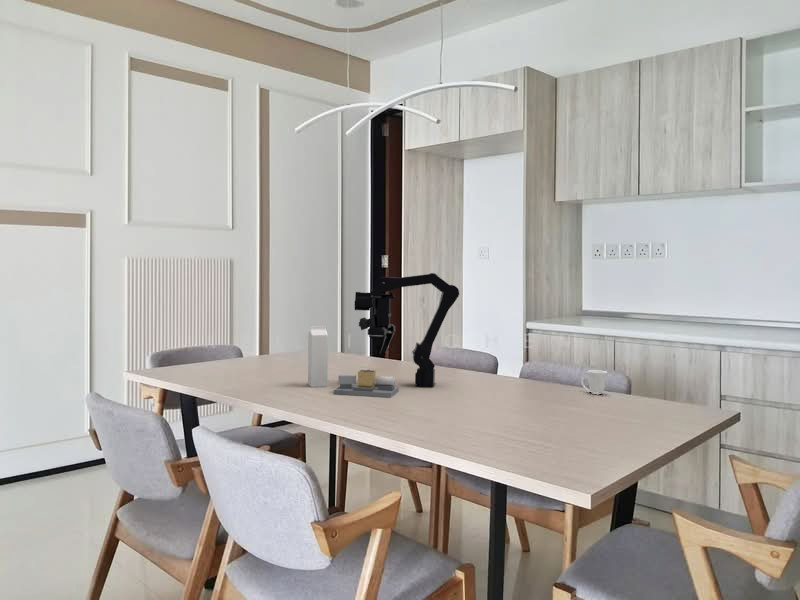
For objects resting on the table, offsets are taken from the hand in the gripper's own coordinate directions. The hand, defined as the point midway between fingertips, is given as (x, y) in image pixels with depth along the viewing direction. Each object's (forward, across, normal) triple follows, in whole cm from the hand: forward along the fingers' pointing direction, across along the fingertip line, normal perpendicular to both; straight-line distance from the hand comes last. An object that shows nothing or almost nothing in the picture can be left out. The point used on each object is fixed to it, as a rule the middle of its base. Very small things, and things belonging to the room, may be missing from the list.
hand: (381, 352), depth 237 cm
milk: (+12, +8, -22) cm, 26 cm away
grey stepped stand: (+12, +16, -1) cm, 20 cm away
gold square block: (+10, +16, -1) cm, 19 cm away
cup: (+12, -7, +76) cm, 77 cm away
